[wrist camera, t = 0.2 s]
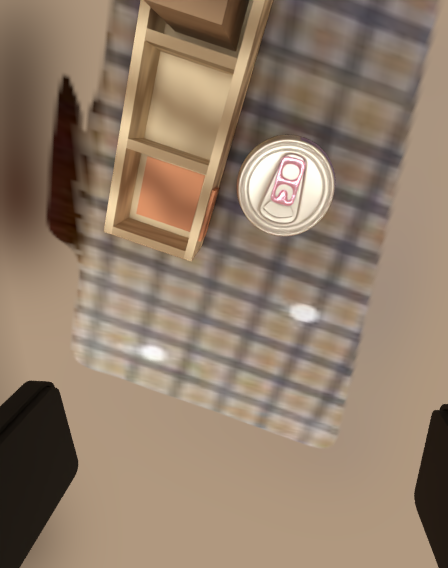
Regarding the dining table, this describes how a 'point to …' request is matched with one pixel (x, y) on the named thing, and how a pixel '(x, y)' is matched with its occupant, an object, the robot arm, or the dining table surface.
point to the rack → (178, 131)
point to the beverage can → (286, 185)
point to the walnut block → (204, 19)
